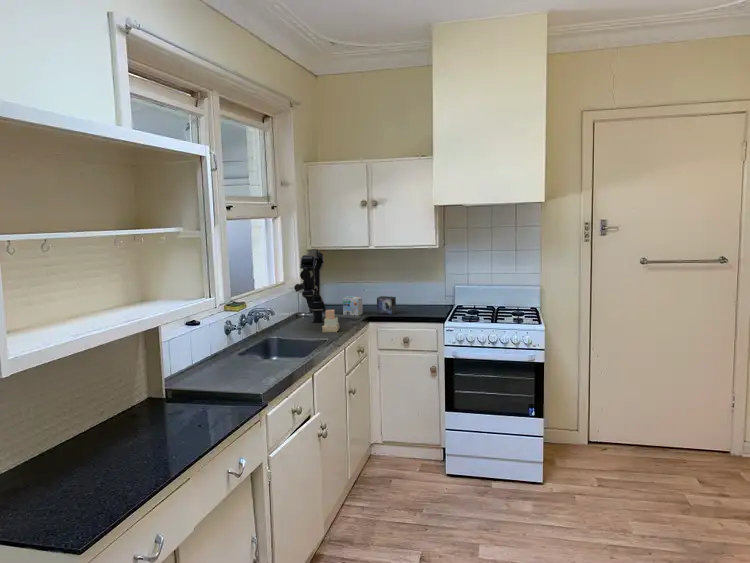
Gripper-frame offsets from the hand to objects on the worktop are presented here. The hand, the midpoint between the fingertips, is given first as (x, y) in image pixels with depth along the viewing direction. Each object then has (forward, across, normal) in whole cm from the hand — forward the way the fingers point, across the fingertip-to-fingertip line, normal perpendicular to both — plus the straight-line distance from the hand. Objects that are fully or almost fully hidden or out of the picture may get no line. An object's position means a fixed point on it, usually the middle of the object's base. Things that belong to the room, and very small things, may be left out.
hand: (310, 305), depth 311 cm
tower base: (+13, +6, +11) cm, 19 cm away
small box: (+14, -38, +42) cm, 58 cm away
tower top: (+10, +6, +12) cm, 16 cm away
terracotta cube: (+6, +6, +11) cm, 14 cm away
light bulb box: (+14, -38, +21) cm, 46 cm away
